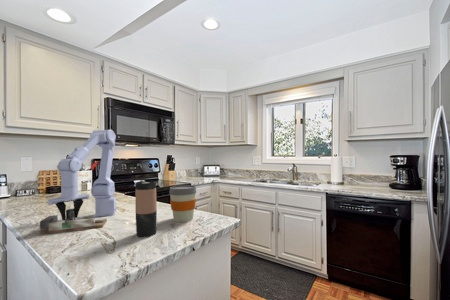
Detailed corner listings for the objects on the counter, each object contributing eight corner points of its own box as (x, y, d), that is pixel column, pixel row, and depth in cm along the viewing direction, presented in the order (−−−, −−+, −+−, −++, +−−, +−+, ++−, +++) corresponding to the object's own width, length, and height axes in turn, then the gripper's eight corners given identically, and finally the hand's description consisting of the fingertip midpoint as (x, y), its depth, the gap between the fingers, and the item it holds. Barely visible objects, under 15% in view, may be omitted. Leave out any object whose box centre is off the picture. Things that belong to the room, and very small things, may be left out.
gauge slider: (78, 220, 95) (78, 207, 95) (71, 226, 87) (71, 212, 87) (67, 221, 94) (67, 208, 94) (60, 227, 86) (59, 213, 86)
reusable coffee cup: (192, 213, 109) (191, 184, 109) (200, 220, 98) (199, 187, 98) (167, 217, 104) (166, 186, 104) (172, 224, 92) (172, 190, 93)
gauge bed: (106, 221, 100) (106, 210, 100) (102, 227, 91) (102, 215, 91) (49, 227, 93) (49, 215, 93) (39, 234, 84) (39, 221, 84)
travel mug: (161, 231, 85) (160, 180, 85) (148, 238, 78) (147, 183, 78) (145, 229, 87) (144, 180, 88) (131, 236, 80) (130, 183, 80)
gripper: (85, 183, 100) (85, 213, 100) (45, 188, 88) (45, 221, 88) (91, 184, 95) (91, 215, 95) (50, 189, 84) (50, 224, 84)
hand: (69, 218), depth 91 cm, fingers open, 4 cm apart
